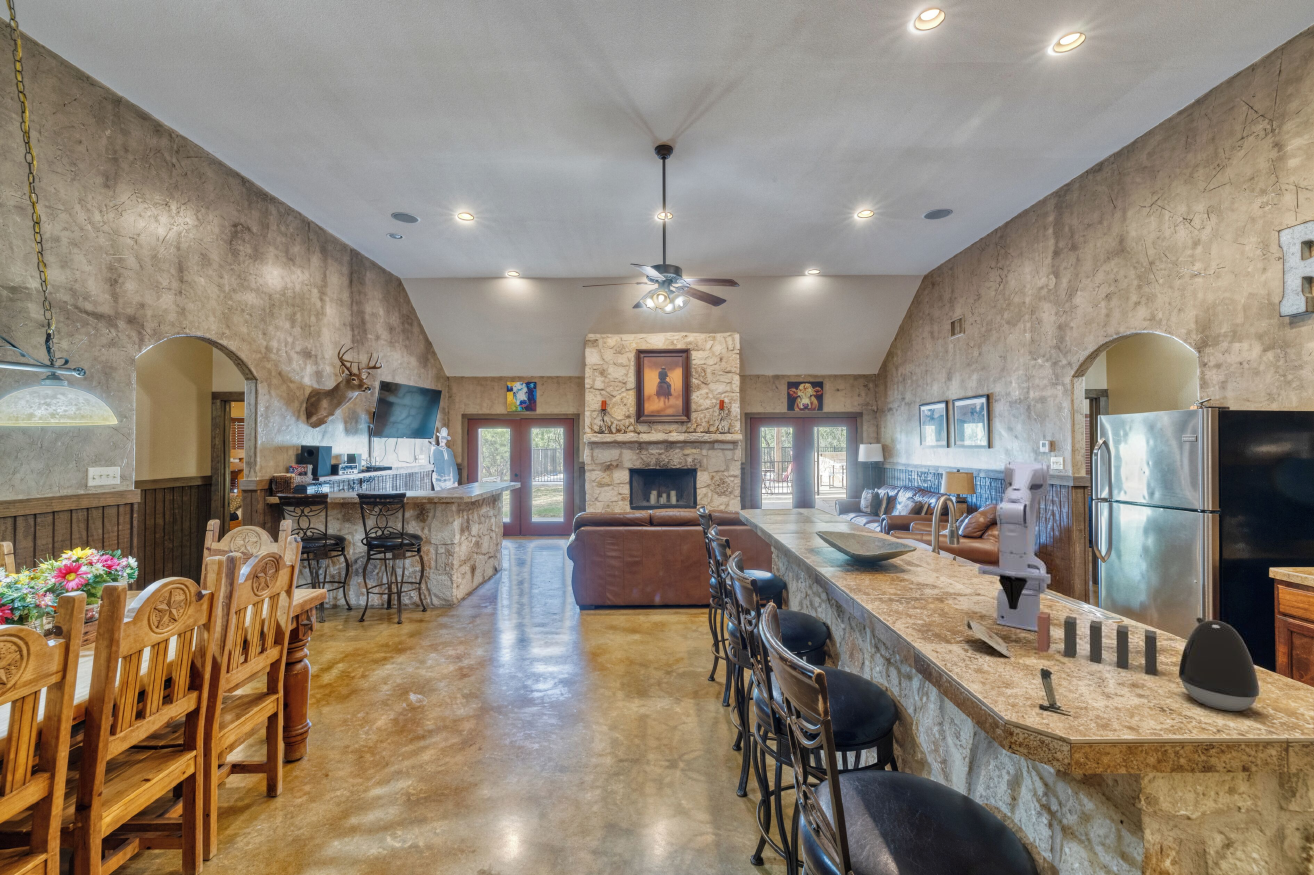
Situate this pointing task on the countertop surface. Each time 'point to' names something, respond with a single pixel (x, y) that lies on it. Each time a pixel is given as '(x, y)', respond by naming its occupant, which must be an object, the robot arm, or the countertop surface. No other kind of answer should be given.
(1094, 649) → the domino
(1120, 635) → the domino
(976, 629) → the wooden slab
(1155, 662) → the domino
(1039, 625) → the loose domino
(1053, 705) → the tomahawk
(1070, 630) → the domino
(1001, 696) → the countertop surface
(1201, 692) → the black and grey speaker
